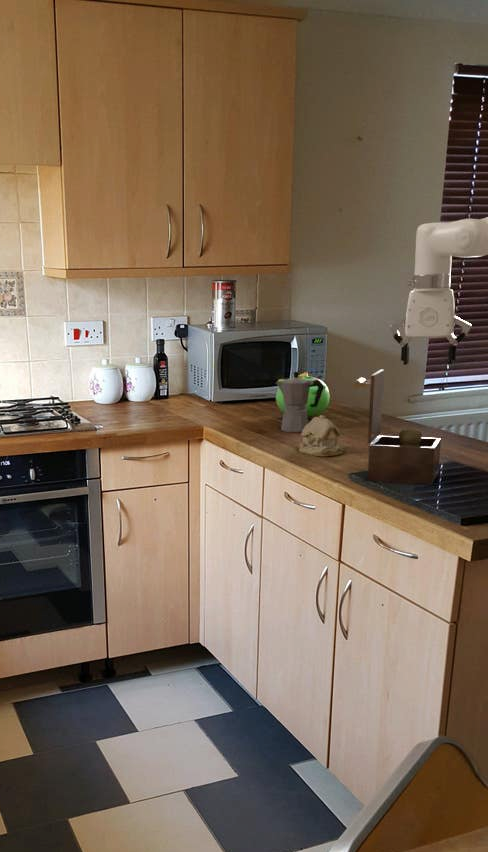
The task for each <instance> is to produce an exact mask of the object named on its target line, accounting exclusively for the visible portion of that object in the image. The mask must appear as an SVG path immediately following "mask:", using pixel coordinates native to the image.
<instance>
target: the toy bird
mask: <svg viewBox="0 0 488 852" xmlns="http://www.w3.org/2000/svg"><path fill="white" fill-rule="evenodd" d="M291 378H294V376H293V377H290V378H289V379H291ZM298 378H301V379H305V380H319V381H320V382H321V383H322V384H323V386H324V389H323V391H322V394H321V397H320V400H319V403H318V405H317V407H311V406H310V404H314V402H315V397H316V394H317V390H318V387H317V386H313V387H310V389H309V395H308V401H307V403H306V409H307V416H308V419H309V418H314V417H317V416H318V415H321V414H322V413H323V412H324V411H325V410H326V409H327V407H328V405H329V403H330V397H331V396H330V390H329V387H328V386H327V385H326V383H325V382H324V381H322V380H321V379H319V378H318V377H314V376H309V372H303V373H301V374H298ZM283 380H284V379H283V378H282V379H278V380H277V382H278V381H283ZM275 402H276V405H277V408H278V409H279V410H280V411H281V412H282V414H284V409H285V404H284V398H283V394H282V392H281V390H280V388H279V387H277V389H276V393H275Z"/></svg>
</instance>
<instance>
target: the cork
mask: <svg viewBox="0 0 488 852" xmlns="http://www.w3.org/2000/svg"><path fill="white" fill-rule="evenodd" d="M398 437H399V440H400V442H401V446H413V447H419V443H420V442H421V439H422V438H423V433H422V431H421V430H420V429H417V428H403V429H402V430H400V431H399V434H398Z"/></svg>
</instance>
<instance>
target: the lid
mask: <svg viewBox="0 0 488 852" xmlns="http://www.w3.org/2000/svg"><path fill="white" fill-rule="evenodd" d="M384 376H385V369H382V368H381V369H379V370H378V371H377V370H376V372H374V373H372V374H371V375H370V379H366V378H365V377H359V378H358V379H356V380H354V381H353V383H352V386H353V388H355V389H359V388H361V387H369V388H370V389H369V405H368V407H369V408H368V426H367V427H368V428H367V444H371V443H372V442H373V441H374V440H375V439H376V438H377V437H378V436H379V435H380V434H382V433H381V432H382V417H383V416H382V412H383V398H384V397H383V395H384V380H385V379H384V378H385V377H384Z"/></svg>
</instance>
